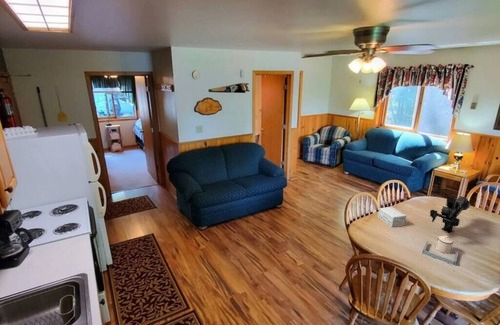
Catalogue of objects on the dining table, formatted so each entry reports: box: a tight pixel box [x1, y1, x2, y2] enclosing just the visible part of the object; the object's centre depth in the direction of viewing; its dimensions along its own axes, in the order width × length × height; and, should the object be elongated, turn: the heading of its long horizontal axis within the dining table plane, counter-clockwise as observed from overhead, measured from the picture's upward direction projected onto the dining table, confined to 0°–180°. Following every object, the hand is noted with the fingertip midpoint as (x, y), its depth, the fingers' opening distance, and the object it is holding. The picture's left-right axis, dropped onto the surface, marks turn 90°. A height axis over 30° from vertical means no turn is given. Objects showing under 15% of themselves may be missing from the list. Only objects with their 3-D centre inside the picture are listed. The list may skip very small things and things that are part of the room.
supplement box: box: [377, 206, 407, 228], centre depth 231 cm, size 17×13×9 cm
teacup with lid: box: [435, 235, 454, 254], centre depth 194 cm, size 12×9×12 cm
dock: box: [421, 240, 459, 266], centre depth 190 cm, size 15×19×2 cm
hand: (439, 224), depth 201 cm, fingers open, 9 cm apart
